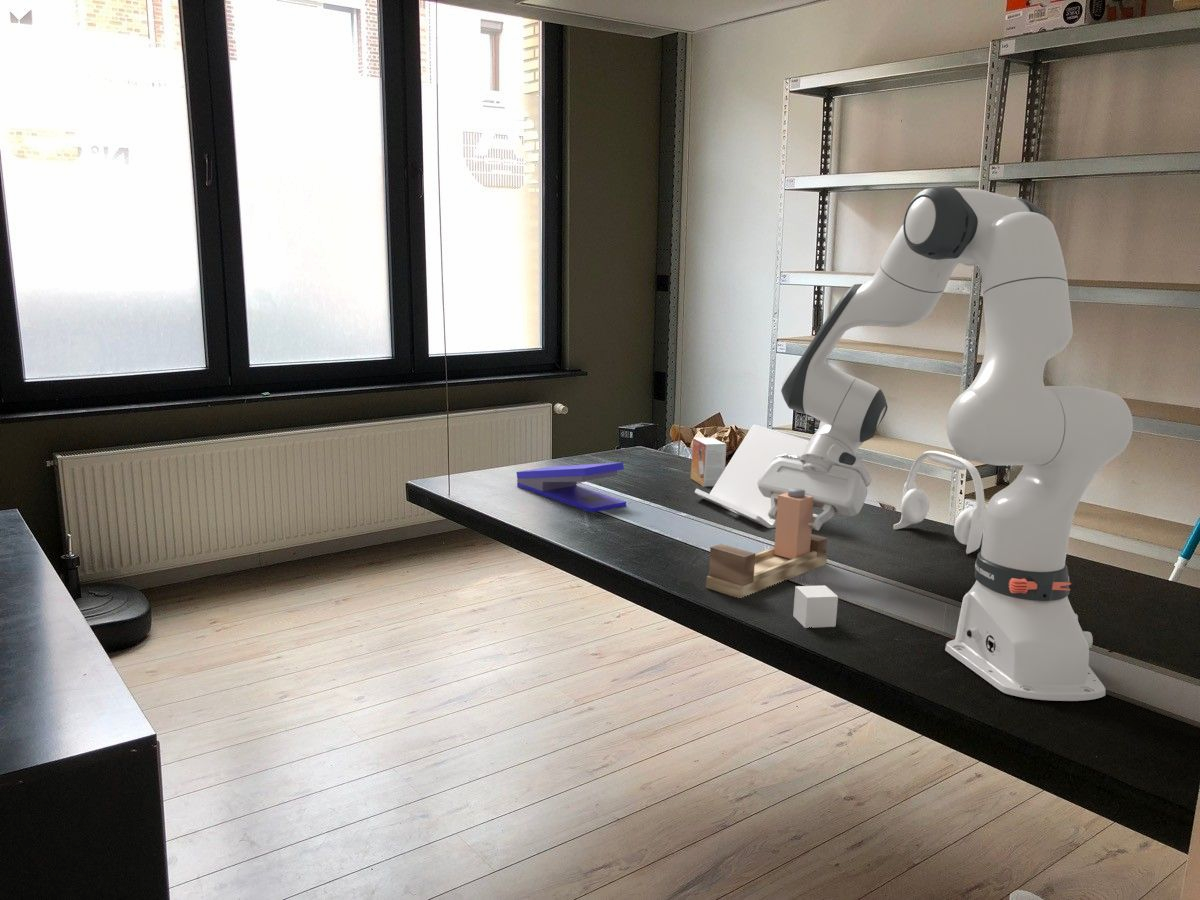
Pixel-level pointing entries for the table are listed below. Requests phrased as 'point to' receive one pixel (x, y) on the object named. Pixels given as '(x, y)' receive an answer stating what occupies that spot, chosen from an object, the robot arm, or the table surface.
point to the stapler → (572, 484)
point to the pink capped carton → (793, 524)
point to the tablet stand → (752, 473)
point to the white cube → (815, 606)
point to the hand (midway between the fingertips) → (792, 522)
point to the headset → (918, 502)
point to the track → (758, 567)
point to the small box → (707, 460)
